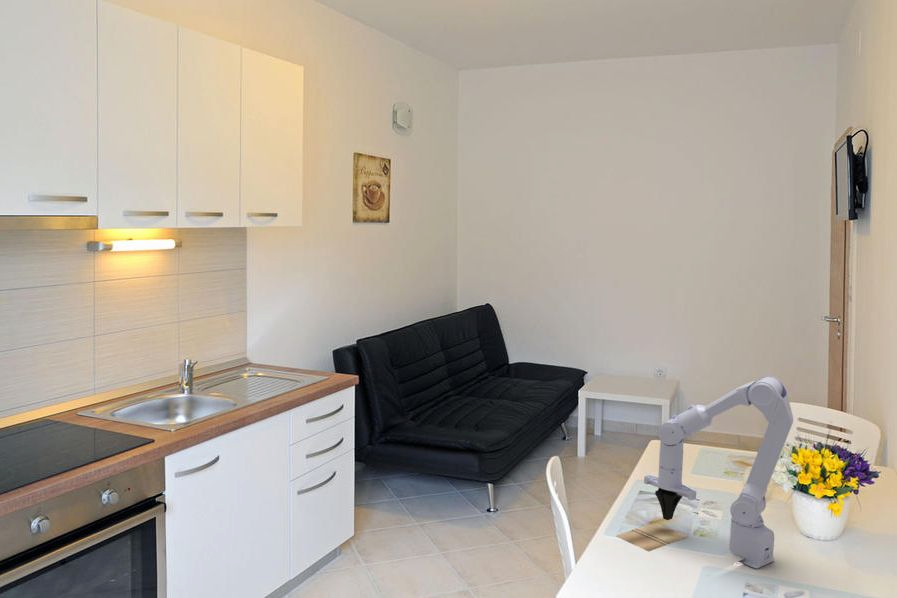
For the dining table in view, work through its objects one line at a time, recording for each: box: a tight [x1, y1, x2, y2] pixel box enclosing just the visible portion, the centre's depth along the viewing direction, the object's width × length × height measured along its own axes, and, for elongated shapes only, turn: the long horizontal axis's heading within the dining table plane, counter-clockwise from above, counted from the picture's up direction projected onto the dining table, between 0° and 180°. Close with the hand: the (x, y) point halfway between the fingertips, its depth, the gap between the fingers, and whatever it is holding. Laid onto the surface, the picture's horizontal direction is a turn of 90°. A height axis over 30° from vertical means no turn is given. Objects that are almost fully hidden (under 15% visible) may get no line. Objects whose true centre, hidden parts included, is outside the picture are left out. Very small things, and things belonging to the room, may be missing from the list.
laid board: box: [615, 529, 668, 552], centre depth 186 cm, size 10×7×2 cm
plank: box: [633, 522, 689, 545], centre depth 191 cm, size 10×8×2 cm
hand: (667, 518), depth 192 cm, fingers closed
